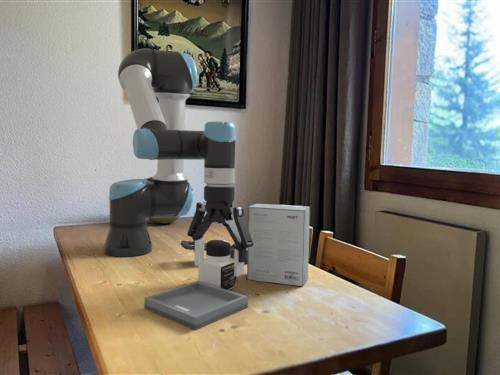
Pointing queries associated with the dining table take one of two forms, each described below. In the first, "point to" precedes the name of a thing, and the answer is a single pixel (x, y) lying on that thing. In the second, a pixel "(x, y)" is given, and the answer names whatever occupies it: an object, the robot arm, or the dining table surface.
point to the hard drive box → (278, 243)
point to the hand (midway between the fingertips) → (218, 269)
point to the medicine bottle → (217, 265)
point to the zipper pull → (188, 247)
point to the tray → (196, 304)
